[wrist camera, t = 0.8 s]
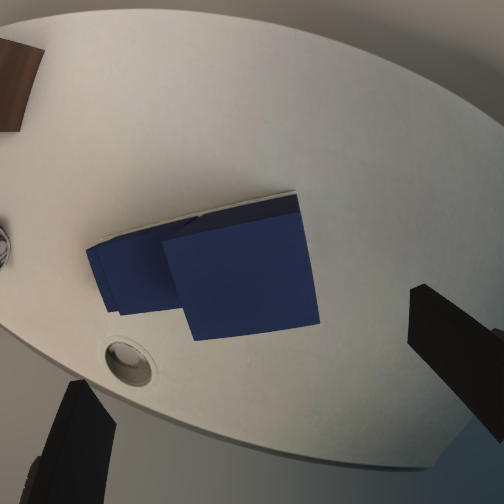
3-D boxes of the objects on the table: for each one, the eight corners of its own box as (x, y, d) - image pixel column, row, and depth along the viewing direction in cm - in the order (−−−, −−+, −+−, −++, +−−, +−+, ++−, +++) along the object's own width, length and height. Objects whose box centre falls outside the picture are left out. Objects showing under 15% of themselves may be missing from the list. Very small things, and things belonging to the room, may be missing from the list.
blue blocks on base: (295, 189, 29) (299, 208, 18) (311, 267, 31) (320, 326, 20) (106, 235, 33) (38, 269, 22) (127, 298, 35) (71, 349, 24)
